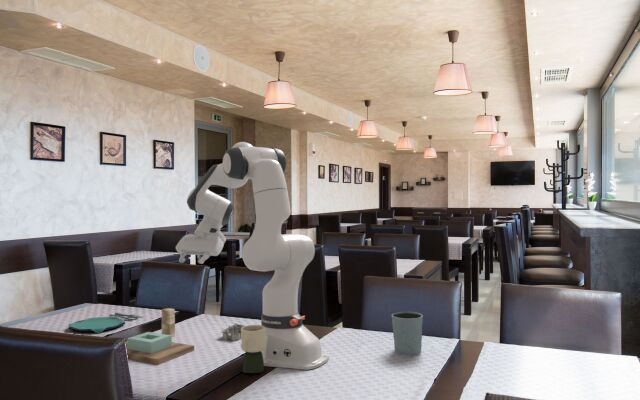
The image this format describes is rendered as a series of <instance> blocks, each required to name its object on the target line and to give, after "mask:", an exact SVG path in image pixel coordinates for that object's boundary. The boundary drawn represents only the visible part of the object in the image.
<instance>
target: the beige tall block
mask: <svg viewBox="0 0 640 400" xmlns="http://www.w3.org/2000/svg"><path fill="white" fill-rule="evenodd" d="M175 312H176V309H175V308H171V307H170V308H169V307H166V308H165V307H164V308H162V309H161V334H165V335H171V338H174V337H176V317H175V316H176V314H175Z"/></svg>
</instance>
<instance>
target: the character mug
mask: <svg viewBox="0 0 640 400" xmlns="http://www.w3.org/2000/svg"><path fill="white" fill-rule="evenodd" d="M240 340H241V345H240V348H241V349H242V351H243V352H244V357H243V361H242V362H243V363H242V372H243V373H247V374H251V375H252V374H258V373H263V372H264V371H265V366H264V361H263V355H262V352H261V351H263V350H264V349H265V347H266V346H265V327H264V326H262V325H261V324H250V325H247V326H246V325H244V327H242V328H241V338H240Z"/></svg>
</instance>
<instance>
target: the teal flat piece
mask: <svg viewBox="0 0 640 400" xmlns="http://www.w3.org/2000/svg"><path fill="white" fill-rule="evenodd" d="M138 319H143V316H141V315H138V314H137V315H136V314H133V313H132V314H125V313H121V312H115V313H114V314H109V317H108V316H99V317H98V316H97V317H89V318H87V319H82V320H77V321H75V322H71V323H69V324H68V329H69V330H74V331H78V332H94V333H96V334H102V333H103V331H106V330H111V329H115V328H119V327H121V326H123V325H125V324H126V321H127V322H133V320H138Z"/></svg>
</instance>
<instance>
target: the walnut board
mask: <svg viewBox="0 0 640 400" xmlns="http://www.w3.org/2000/svg"><path fill="white" fill-rule="evenodd" d="M124 343H125V344H126V349H127V355H128V358H127V359H130V360H133V361H134V360H135V361H139V362H145V363H148V364H149V363H150V364H155V365H161V364H163V363H166V362H168V361H171V360H173V359H176V358H179V357H181V356H183V355H186V354H188V353H190V352H193V351H195V345H191V344H186V343H180V342H173V341H171V346H170V347H167V348H164V349H162V350H159V351H156V352H154V353H147V352H141V351H136V350H130V349H128V341H124Z"/></svg>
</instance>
